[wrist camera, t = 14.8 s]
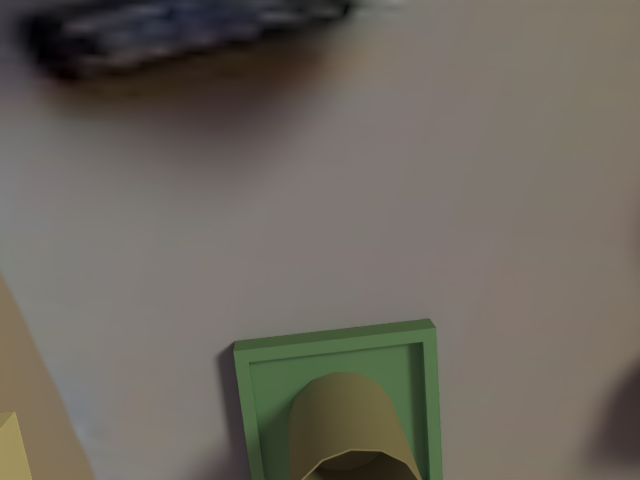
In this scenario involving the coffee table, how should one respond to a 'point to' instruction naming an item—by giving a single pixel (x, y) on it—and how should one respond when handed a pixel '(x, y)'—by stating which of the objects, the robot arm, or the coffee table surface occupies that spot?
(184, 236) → the coffee table surface
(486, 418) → the coffee table surface
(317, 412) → the cup
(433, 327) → the tray
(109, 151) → the coffee table surface
